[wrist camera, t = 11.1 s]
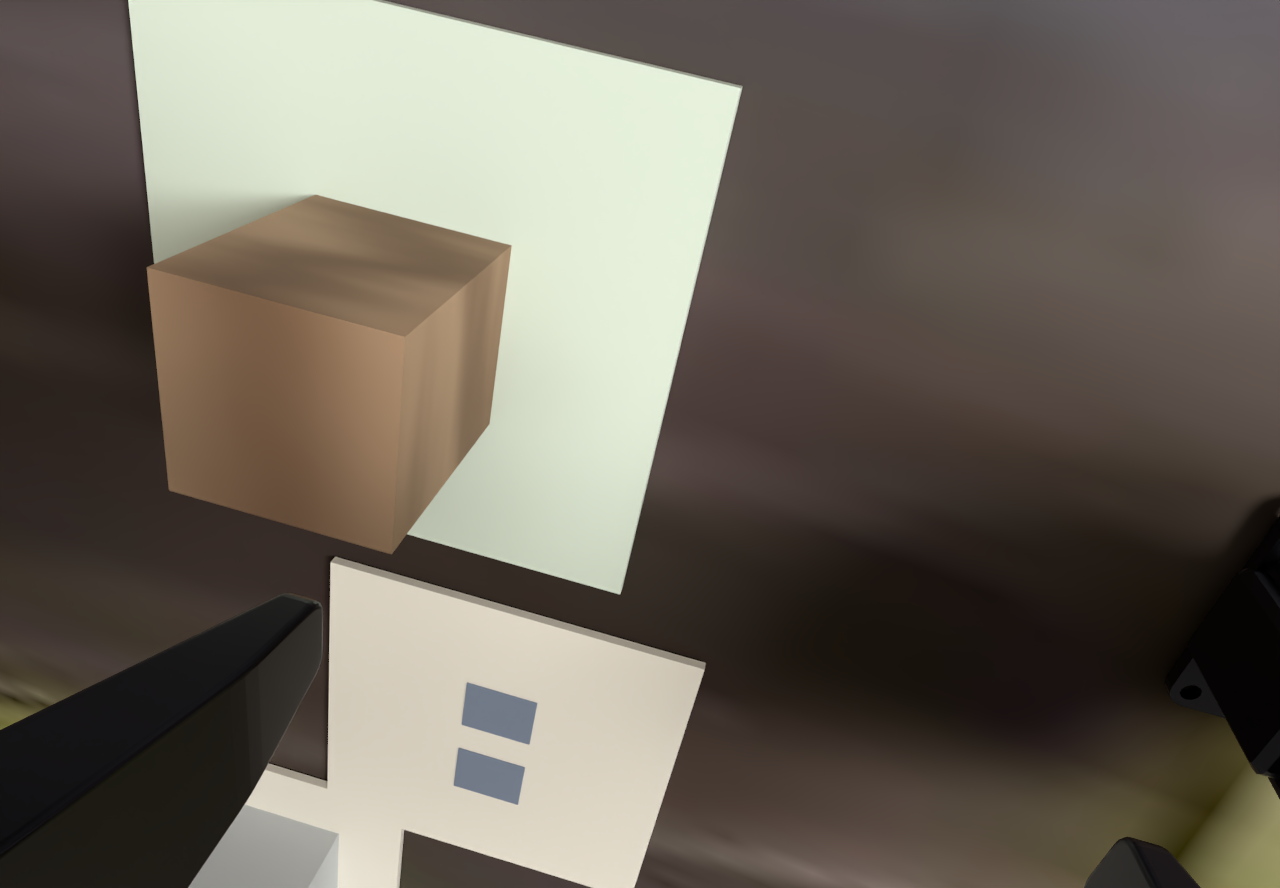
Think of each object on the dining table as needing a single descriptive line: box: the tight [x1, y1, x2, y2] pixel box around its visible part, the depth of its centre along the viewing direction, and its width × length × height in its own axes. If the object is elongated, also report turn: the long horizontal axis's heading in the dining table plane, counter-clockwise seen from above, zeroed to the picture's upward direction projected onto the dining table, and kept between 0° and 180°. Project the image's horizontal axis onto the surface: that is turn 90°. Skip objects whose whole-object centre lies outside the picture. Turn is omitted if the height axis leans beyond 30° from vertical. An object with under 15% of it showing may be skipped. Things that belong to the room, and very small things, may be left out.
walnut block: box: [147, 195, 512, 554], centre depth 19 cm, size 5×5×6 cm
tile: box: [245, 763, 404, 888], centre depth 35 cm, size 10×10×1 cm
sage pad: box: [128, 0, 743, 594], centre depth 22 cm, size 14×14×1 cm
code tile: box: [327, 557, 706, 888], centre depth 29 cm, size 12×12×1 cm
